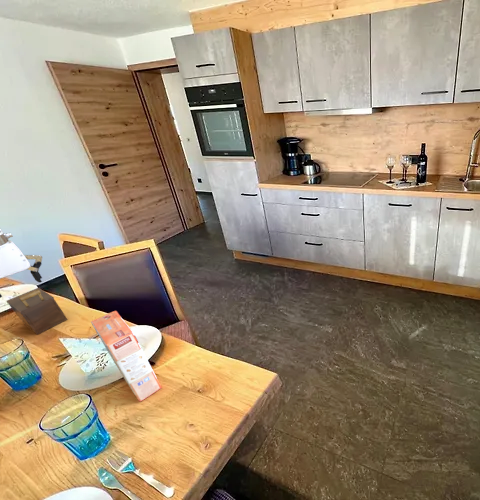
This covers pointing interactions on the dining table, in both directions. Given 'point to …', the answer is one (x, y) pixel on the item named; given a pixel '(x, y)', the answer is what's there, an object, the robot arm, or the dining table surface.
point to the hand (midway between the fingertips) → (19, 288)
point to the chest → (42, 316)
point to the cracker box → (127, 354)
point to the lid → (30, 300)
